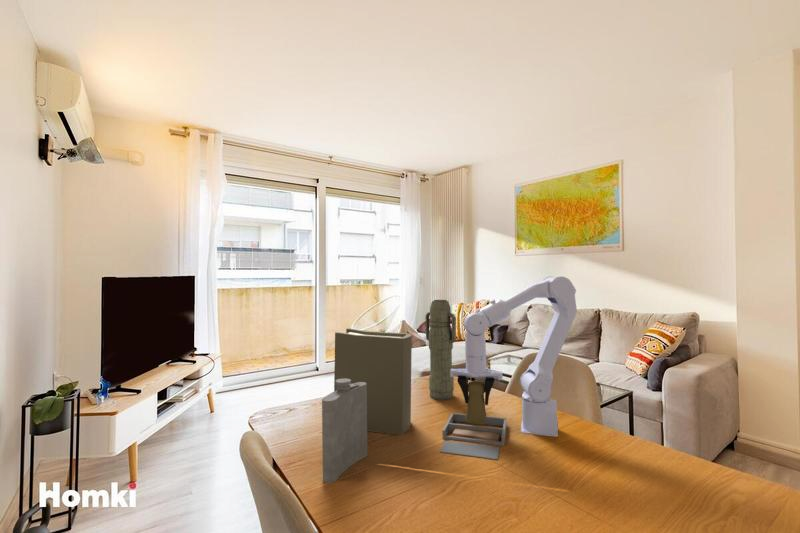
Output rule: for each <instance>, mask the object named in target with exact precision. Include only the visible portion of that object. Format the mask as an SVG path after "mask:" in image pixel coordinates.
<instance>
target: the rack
mask: <svg viewBox="0 0 800 533" xmlns="http://www.w3.org/2000/svg"><path fill="white" fill-rule="evenodd" d="M465 417H466V413H458V412H457V413H456V412H451V413H450V415H449V417H448V419H447V421H446V423H445V425H444V427H443V428H442V430H441V432H442V440H443V439H445V440H450V441H452V440H453V441H460V442H461V441H462V442H470V443H475V444H476V443H477V444H485V445H493V446H505V441H506V435H507V434H506V433H507V427H508V424H507V423H508V422H507V421H508V420H507V417H497V416H489V415H486V420H487V422H486V423H485V424H484V425H488V426H481V425H474V424H469V423H468V422H466V420H465ZM454 422H459V423H454ZM460 422H461V423H463V424H461V423H460ZM464 423H467V424H464ZM490 426H498V427H499V428H498V427H490ZM500 427H502V428H500ZM455 428H459V429H467V430H475V431H482V432H490V433H498V434H500V439H501V441H499V442H498V441H489V440H481V439H472V438H464V437H455V436H453V435H448V433H449V432H450V433H453V432H454V430H455Z"/></svg>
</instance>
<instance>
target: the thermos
mask: <svg viewBox="0 0 800 533" xmlns="http://www.w3.org/2000/svg"><path fill="white" fill-rule="evenodd" d="M451 311H452V307H451V305H450V302H449V300H447V299H434V300H431V303H430V306H429V312H426V314H425V338H426V341H428V349H429V359H430V360H429V362H430V363H429V367H430V368H429V369H430V374H429V378H428V387H429V388H428V389H429V398H430V399H433V400H437V401H438V400H439V401H445V400H451V399H453V398H454V390H455V383H454V382H455V381H454V380H455V379H454V378H455V377H450V370H451V369H453V357H452V356H453V355H452V354H453V352H452V351H453V349H454V342H456V340H457V316H456V315H455V313H452V312H451Z"/></svg>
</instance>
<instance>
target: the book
mask: <svg viewBox="0 0 800 533" xmlns="http://www.w3.org/2000/svg"><path fill="white" fill-rule="evenodd" d="M345 329H346V330H345V331H346V332H340V331H335V332H334V370H333V371H334V377H333V378H334V380H333V384H334V385H333V387H334V388H333V392H334V391H336V390H337V389H336V388H337V385H336V380H337V379H344V378H346V379H350V380H351V384H354V383H357V382H365V383H366V384H367V432H374V433H375V432H376V433H383V434H388V435H394V436H398V435H403V434H405V433H407V432H408V431H409V429H410V428H411V426H412V424H411V423H412V422H411V420H412V416H411V415H412V354H413V353H412V351H413V350H412V349H413V348H412V346H413V345H412V343H413V342H412V341H413V340H412V338H413V336H412V335H413V334H412V333H410V332H409V333H406V332H405V333H404V332H389V331H388V332H386V331H384V332H383V331H369V330H368V331H367V330H361V329H356V328H351V327H347V328H345Z"/></svg>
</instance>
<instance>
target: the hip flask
mask: <svg viewBox="0 0 800 533" xmlns="http://www.w3.org/2000/svg"><path fill="white" fill-rule="evenodd" d="M336 385H337V388H336V389H337V390H336V391H334V390H333V392H331V393H329V394H327V395H326V396H324V397H323V398H321V417H322V418H321V422H322V423H321V431H322V433H321V436H322V437H321V438H322V441H321V442H322V450H321V451H322V481H323V482H324V483H327V484H330V483H334V482H336V481H337V480H338V479H339V478H340V476H342V474H343V473H345V472H346V471H347V470H348V469H349V468H350V467H351V466H353V465H354V464H355V463H358V461H360V460H362V459H363V458H365V457H366V456H368V431H367V384H366V383H365V382H357V383H354V384H351V380H350V379H346V378H344V379H337V380H336Z"/></svg>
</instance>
